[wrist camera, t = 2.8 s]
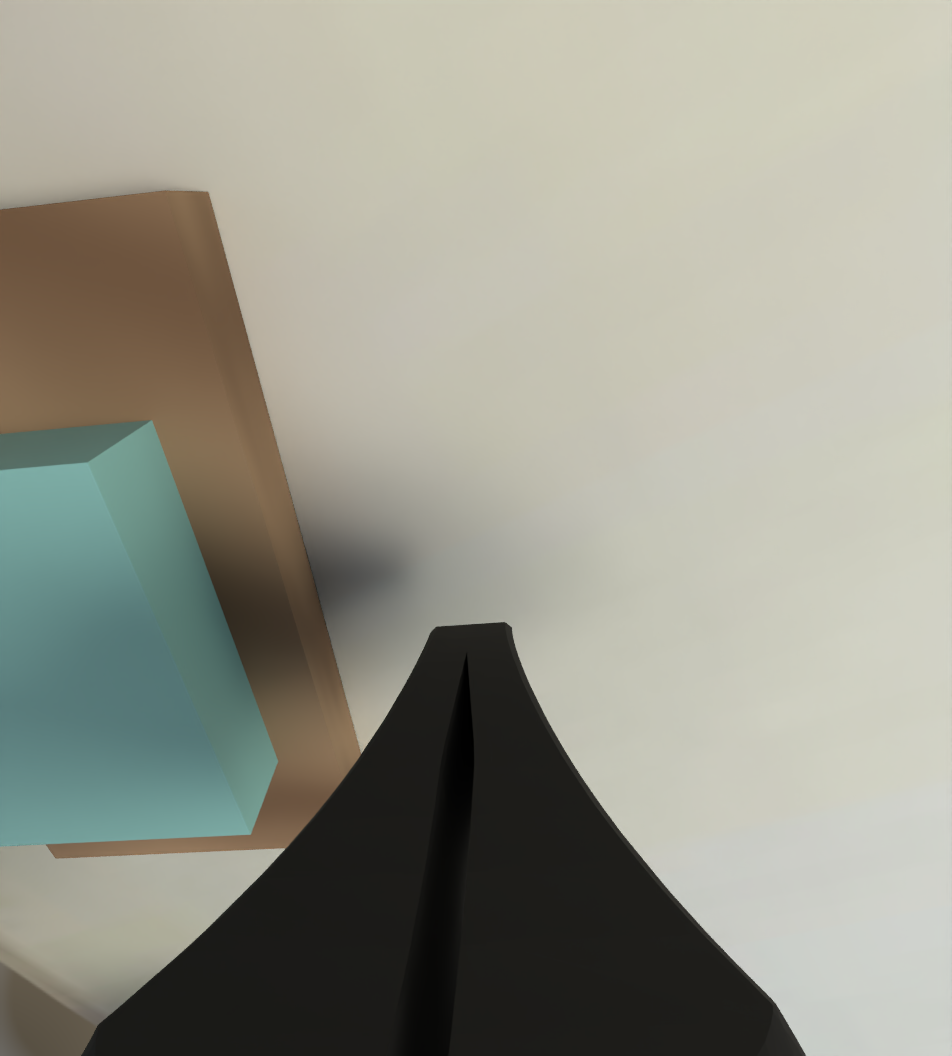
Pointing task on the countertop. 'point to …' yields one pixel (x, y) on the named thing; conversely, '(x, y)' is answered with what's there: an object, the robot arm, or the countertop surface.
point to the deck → (181, 452)
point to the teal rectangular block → (115, 652)
